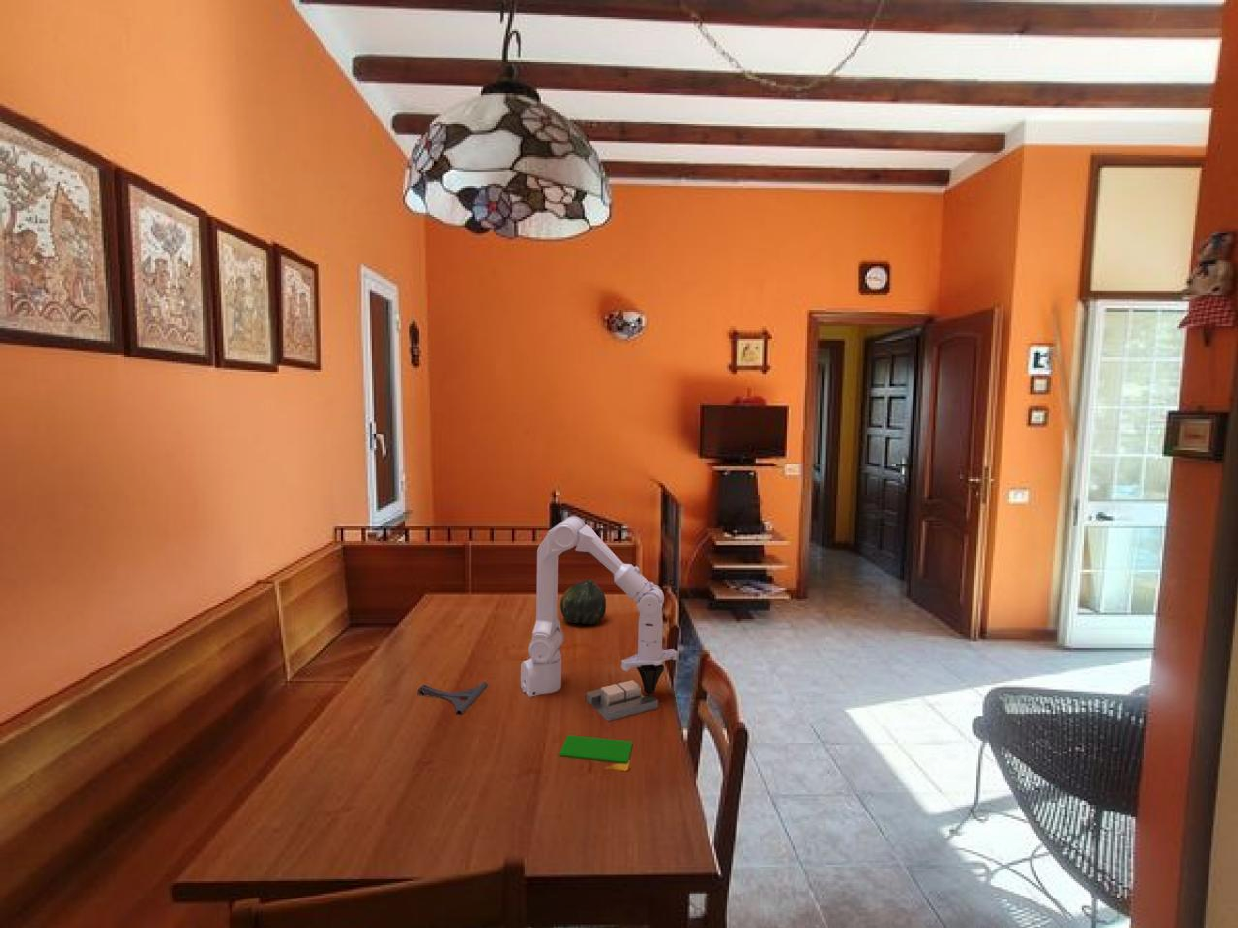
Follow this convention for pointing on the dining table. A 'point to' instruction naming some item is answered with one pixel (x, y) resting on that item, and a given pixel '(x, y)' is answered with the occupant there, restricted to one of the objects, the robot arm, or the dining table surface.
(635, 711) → the slot plate
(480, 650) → the dining table surface
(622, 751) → the dish sponge
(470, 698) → the bracket
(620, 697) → the block
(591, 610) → the squash
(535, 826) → the dining table surface
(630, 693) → the block
